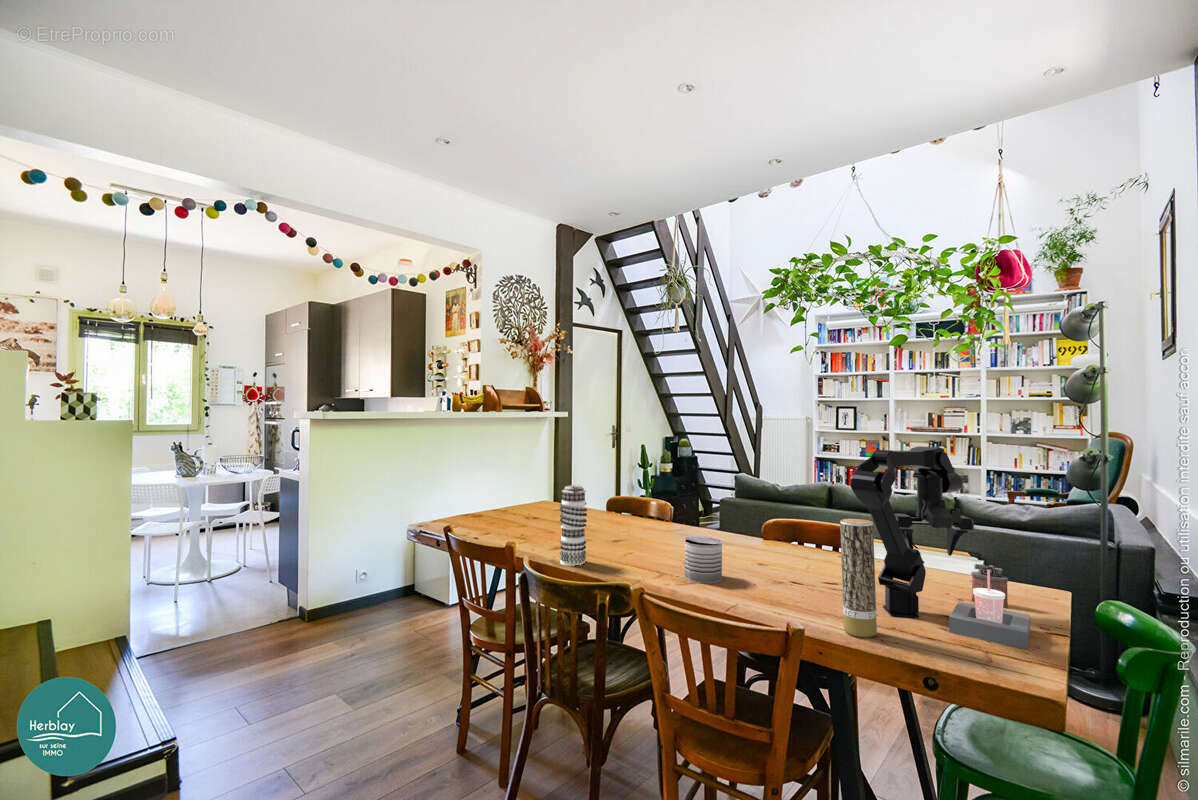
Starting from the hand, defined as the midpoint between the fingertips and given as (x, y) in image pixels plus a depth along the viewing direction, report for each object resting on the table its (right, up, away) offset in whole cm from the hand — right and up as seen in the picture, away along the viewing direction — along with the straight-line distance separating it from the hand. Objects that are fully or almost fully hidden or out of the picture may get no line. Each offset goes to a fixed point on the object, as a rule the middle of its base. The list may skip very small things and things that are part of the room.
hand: (930, 554), depth 146 cm
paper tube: (-28, -12, -20) cm, 36 cm away
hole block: (+3, -13, -18) cm, 22 cm away
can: (-55, -13, +22) cm, 61 cm away
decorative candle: (-95, -13, +38) cm, 103 cm away
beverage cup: (+3, -13, -18) cm, 22 cm away
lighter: (+16, -14, +1) cm, 21 cm away
